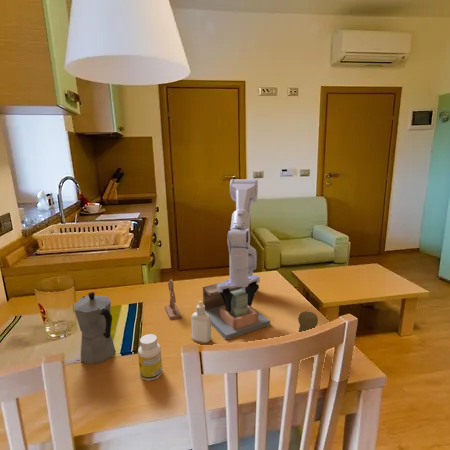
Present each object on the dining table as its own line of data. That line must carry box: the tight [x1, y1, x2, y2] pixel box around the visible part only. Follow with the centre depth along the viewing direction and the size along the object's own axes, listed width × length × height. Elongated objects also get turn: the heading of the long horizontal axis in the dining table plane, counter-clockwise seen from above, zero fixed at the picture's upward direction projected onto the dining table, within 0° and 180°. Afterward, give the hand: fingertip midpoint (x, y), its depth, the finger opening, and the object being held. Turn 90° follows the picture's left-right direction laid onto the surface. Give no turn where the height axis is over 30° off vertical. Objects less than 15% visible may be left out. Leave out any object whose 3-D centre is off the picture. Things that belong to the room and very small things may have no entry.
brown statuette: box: [164, 279, 182, 321], centre depth 104 cm, size 9×4×12 cm, turn 22°
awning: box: [202, 282, 245, 310], centre depth 105 cm, size 6×14×8 cm, turn 119°
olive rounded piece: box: [297, 310, 319, 332], centre depth 84 cm, size 6×6×11 cm
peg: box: [230, 289, 248, 318], centre depth 97 cm, size 4×4×9 cm
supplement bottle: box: [137, 333, 163, 381], centre depth 75 cm, size 5×5×10 cm
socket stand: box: [205, 305, 271, 340], centre depth 101 cm, size 18×16×4 cm
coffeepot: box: [73, 291, 116, 365], centre depth 82 cm, size 15×9×18 cm, turn 49°
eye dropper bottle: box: [190, 300, 212, 344], centre depth 89 cm, size 4×6×12 cm
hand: (238, 307), depth 98 cm, fingers open, 7 cm apart
